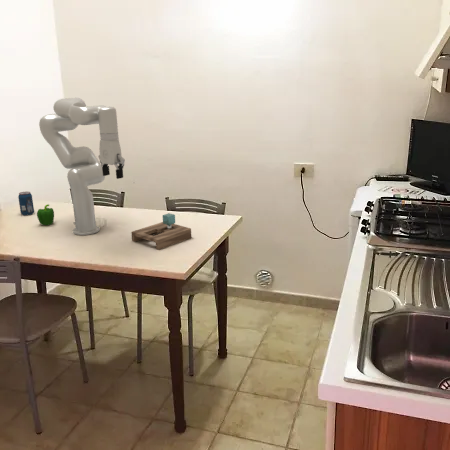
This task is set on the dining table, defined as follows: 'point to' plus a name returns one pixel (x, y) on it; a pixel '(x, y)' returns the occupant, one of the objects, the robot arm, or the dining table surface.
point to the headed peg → (169, 220)
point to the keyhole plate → (162, 234)
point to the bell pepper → (45, 216)
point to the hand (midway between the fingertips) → (113, 176)
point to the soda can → (26, 203)
